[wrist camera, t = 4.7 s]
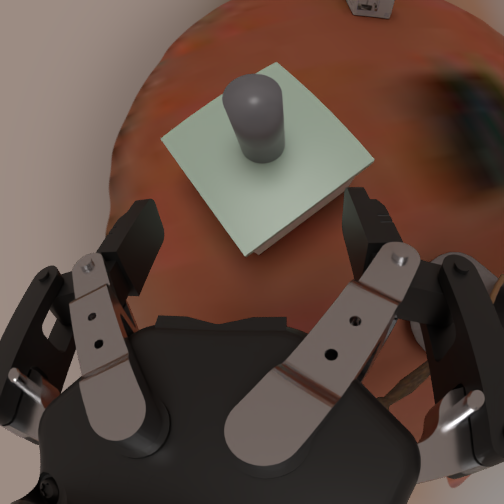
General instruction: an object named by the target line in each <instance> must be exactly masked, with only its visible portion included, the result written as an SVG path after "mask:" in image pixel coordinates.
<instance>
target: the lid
mask: <svg viewBox="0 0 504 504" xmlns="http://www.w3.org/2000/svg"><path fill="white" fill-rule="evenodd" d="M161 140H162V141H163V143H164V144H165V146H166V147H167V148H168V150H169V151H170V153H171V154H172V156H173V157H174V158H175V160H176V161H177V163H178V164H179V165H180V167H181V168H182V170H183V171H184V172H185V174H186V175H187V177H188V178H189V179H190V181H191V182H192V184H193V185H194V186H195V188H196V189H197V191H198V192H199V193H200V195H201V196H202V198H203V199H204V200H205V202H206V203H207V205H208V206H209V207H210V209H211V210H212V211H213V213H214V214H215V216H216V217H217V218H218V220H219V221H220V223H221V224H222V225H223V227H224V228H225V230H226V231H227V232H228V234H229V235H230V236H231V238H232V239H233V241H234V242H235V243H236V245H237V246H238V248H239V249H240V250H241V252H242V253H243V254H244V256H245V257H248V256H249V255H250V254H252V253H253V252H254V251H256V250H257V249H258V248H260V247H261V246H262V245H264V244H265V243H266V242H268V241H269V240H270V239H272V238H273V237H274V236H276V235H277V234H279V233H280V232H281V231H283V230H284V229H285V228H287V227H288V226H289V225H291V224H292V223H293V222H295V221H296V220H297V219H299V218H300V217H301V216H303V215H304V214H305V213H307V212H308V211H309V210H311V209H312V208H313V207H315V206H316V205H318V204H319V203H320V202H322V201H323V200H324V199H326V198H327V197H328V196H330V195H331V194H332V193H334V192H335V191H336V190H338V189H339V188H340V187H342V186H343V185H344V184H346V183H347V182H348V181H350V180H351V179H352V178H354V177H355V176H357V175H358V174H359V173H361V172H362V171H363V170H365V169H366V168H367V167H369V166H370V165H371V164H372V163H373V162H374V158H373V157H372V156H371V155H370V154H369V153H368V151H367V150H366V149H365V148H364V147H363V146H362V145H361V143H360V142H359V141H358V140H357V139H356V138H355V137H354V136H353V135H352V133H351V132H350V131H349V130H348V129H347V128H346V127H345V126H344V125H343V124H342V123H341V122H340V121H339V120H338V119H337V118H336V117H335V116H334V115H333V114H332V112H331V111H330V110H329V109H328V108H327V107H326V106H325V105H323V104H322V103H321V102H320V101H319V100H318V99H317V98H316V97H315V96H314V95H313V94H312V93H311V92H310V91H309V90H308V89H307V88H306V87H305V86H303V85H302V84H301V83H300V82H299V81H298V80H297V79H296V78H295V77H293V76H292V75H291V74H290V73H289V72H288V71H287V70H285V69H284V68H283V67H282V66H281V65H279V64H278V63H277V62H275V63H274V64H272V65H270V66H268V67H266V68H265V69H263V70H261V71H259V72H258V73H256V74H247V75H243V76H241V77H238V78H236V79H235V80H233V81H232V82H231V83H229V85H228V86H227V87H226V88H225V90H224V92H223V94H222V95H220V96H219V97H217V98H216V99H214V100H213V101H211V102H210V103H208V104H207V105H206V106H204V107H203V108H201V109H200V110H198V111H197V112H196V113H194V114H193V115H191V116H190V117H189V118H187V119H186V120H184V121H183V122H182V123H180V124H179V125H178V126H176V127H175V128H174V129H172V130H171V131H170V132H169V133H167V134H166V135H165V136H163V137H162V138H161Z"/></svg>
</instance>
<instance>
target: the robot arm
mask: <svg viewBox="0 0 504 504" xmlns="http://www.w3.org/2000/svg"><path fill="white" fill-rule="evenodd" d="M342 230H343V236H344V240H345V243H346V247H347V251H348V255H349V259H350V263H351V267H352V271H353V275H354V279H355V280H352V281H350V282H349V284H348V285H347V286H346V288H345V289H344V290H343V291H342V293H341V294H340V295H339V297H338V298H337V299H336V301H335V302H334V303H333V304H332V306H331V307H330V308H329V309H328V311H327V312H326V313H325V314H324V316H323V317H322V318H321V319H320V321H319V322H318V323H317V324H316V325H315V327H314V328H313V329H312V330H311V331H310V333H309V334H307V333H305V332H303V331H301V330H297V329H294V328H290V327H287V321H286V317H252V318H248V319H243V320H238V321H233V322H228V323H223V324H213V323H209V322H205V321H201V320H198V319H194V318H190V317H184V316H159V315H158V318H157V321H156V324H155V325H153V326H149V327H146V328H143V329H141V330H139V329H138V326H137V324H136V321H135V319H134V316H133V314H132V311H131V309H130V306H129V304H128V302H127V300H126V299H127V297H128V296H139V295H140V292H141V290H142V288H143V285H144V283H145V281H146V278H147V276H148V274H149V272H150V269H151V267H152V265H153V263H154V260H155V258H156V256H157V254H158V252H159V249H160V247H161V245H162V243H163V240H164V229H163V225H162V222H161V219H160V216H159V213H158V210H157V207H156V204H155V202H154V200H153V199H145V200H137V201H135V202H134V203H133V205H132V206H131V208H130V209H129V210H128V212H127V213H125V214H124V215H123V216H122V217H121V218H119V219H118V220H117V222H116V223H115V225H114V226H113V228H112V229H111V231H110V232H109V235H107V237H106V238H105V240H104V241H103V243H102V244H101V246H100V247H99V249H98V250H97V252H96V253H90V254H87V255H85V256H83V257H82V258H81V259H79V260H78V261H77V262H76V264H75V265H74V267H73V269H72V271H71V272H68V273H64V274H60V272H59V271H58V269H57V267H55V266H48V267H46V268H44V269H42V270H41V271H40V272H39V273H38V274H37V275H36V276H35V278H34V279H33V281H32V282H31V284H30V286H29V287H28V289H27V291H26V292H25V294H24V296H23V298H22V300H21V301H20V303H19V305H18V307H17V308H16V310H15V312H14V314H13V316H12V318H11V320H10V322H9V324H8V326H7V328H6V330H5V332H4V334H3V336H2V338H1V340H0V426H2V427H4V428H5V429H7V430H9V431H11V432H12V433H14V434H16V435H17V436H19V437H22V438H25V439H26V440H28V441H30V442H32V443H34V444H37V445H39V447H40V463H41V466H40V477H39V480H38V483H37V485H36V486H35V487H34V489H33V490H32V491H31V492H29V493H28V494H27V495H26V496H24V497H23V498H21V499H19V500H16V501H14V502H12V503H11V504H407V502H408V500H409V497H410V495H411V493H412V491H413V489H414V487H415V485H416V484H418V483H423V482H427V481H431V480H435V479H439V478H443V477H449V478H452V479H457V478H461V477H464V476H467V475H470V474H473V473H476V472H478V471H481V470H484V469H487V468H489V467H492V466H494V465H497V464H499V463H502V462H504V330H503V328H502V325H501V322H500V320H499V317H498V315H497V312H496V310H495V307H494V305H493V303H492V300H491V298H490V296H489V294H488V292H487V289H486V287H485V285H484V283H483V281H482V279H481V277H480V275H479V273H478V271H477V269H476V267H475V265H474V264H473V263H472V262H471V261H470V260H468V259H467V258H465V257H463V256H460V255H455V254H452V255H448V256H446V257H445V258H444V260H443V262H442V265H440V264H435V263H431V262H426V261H423V260H420V256H419V254H418V252H417V251H416V250H415V249H414V248H413V247H411V246H410V245H408V244H405V243H403V241H402V239H401V237H400V235H399V233H398V231H397V229H396V227H395V225H394V223H393V222H392V219H391V217H390V216H389V213H388V211H387V209H386V207H385V206H384V205H383V204H382V203H380V202H379V201H378V200H377V199H369V197H368V195H367V193H366V191H365V189H364V188H363V187H346V188H345V191H344V204H343V217H342ZM49 309H50V311H51V312H52V313H53V315H54V316H55V317H56V318H57V320H56V322H55V324H54V326H53V329H52V331H51V333H50V336H49V338H48V339H47V338H46V337H45V335H44V334H43V331H42V324H43V321H44V319H45V317H46V315H47V313H48V311H49ZM398 318H399V319H403V320H408V321H413V322H418V323H419V324H420V328H421V332H422V336H423V340H424V345H425V349H426V354H427V359H428V364H429V369H430V375H431V380H432V387H433V393H434V400H435V405H434V406H433V407H432V408H431V409H430V410H429V411H428V413H427V414H426V416H425V419H424V427H423V434H422V436H421V439H420V440H419V442H418V443H417V442H416V440H415V438H414V437H413V435H412V434H411V433H410V432H409V431H408V430H407V429H406V428H405V427H404V426H403V425H402V424H401V423H400V422H399V421H398V420H397V419H396V418H395V417H394V416H393V415H392V414H391V413H390V412H389V411H388V410H387V409H386V408H385V407H384V406H383V405H382V404H381V403H380V402H379V401H378V400H377V399H376V398H375V397H374V396H373V395H372V394H371V393H370V392H369V390H368V389H367V388H366V387H365V386H364V385H363V384H362V381H363V380H364V378H365V377H366V375H367V374H368V372H369V370H370V369H371V367H372V365H373V363H374V361H375V360H376V358H377V356H378V354H379V352H380V351H381V349H382V347H383V346H384V344H385V342H386V340H387V339H388V337H389V335H390V333H391V331H392V329H393V328H394V326H395V324H396V322H397V320H398ZM75 350H77V355H78V360H79V364H80V369H81V373H82V376H81V377H80V378H79V379H78V380H77V381H75V382H74V383H73V384H72V385H71V386H69V387H68V388H67V389H66V390H65V391H64V392H62V393H61V391H62V388H63V384H64V382H65V379H66V376H67V372H68V370H69V367H70V364H71V361H72V358H73V355H74V353H75Z"/></svg>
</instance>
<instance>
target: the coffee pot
mask: <svg viewBox="0 0 504 504" xmlns="http://www.w3.org/2000/svg"><path fill="white" fill-rule="evenodd" d="M452 254H455V255H460V256H463V257H465V258H467V259H468V260H470V261H471V262H472V263H473V264H474V265H475V267H476V269H477V271H478V273H479V275H480V277H481V279H482V281H483V283H484V285H485V287H486V289H487V292H488V294H489V296H490V298H491V300H492V303H493V305H494V307H495V310H496V312H497V315H498V317H499V320H500V322H501V325H502V328H503V330H504V274H501V275H500V277H499V279H498V278H497V277H496V276H495V275H494V274H492V273H491V272H490V271H489V270H487V269H486V268H485V267H484V266H482V265H481V264H480V263H479V262H477V261H476V260H475V259H474V258H472V257H471V256H469V255H466V254H463V253H460V252H449V253H446V254H443V255H440V256H438V257H437V258H435V259H434V260H433V261H431V263H435V264H440V265H442V262H443V260H444V258H445V257H446V256H448V255H452ZM410 324H411V329H412V332H413V334H414V336H415V339H416V341H417V342H418V343H419V344H420V346H421V347H422V348H423V349H424V350H425V351H426V349H425V345H424V340H423V336H422V332H421V328H420V324H419V323H418V322H413V321H410ZM429 375H430V369H429V364H428V360H427V361H426V362H425V363H423V364H422V365H421V366H419V367H418V368H417V369H415V370H414V371H413V372H411V373H410V374H409V375H407V376H406V377H404V378H403V379H402V380H400V381H399V383H398V384H397V385H396V386H395V387H394V388H393V389H392V390H391V391H390V392H389V393H388V394H387V395H386V396H385V397H378V398H376V399H377V400H378V401H379V402H380V403H381V404H382V405H383V406H384V407H385V408H386V409H387V410H388V409H389V406H390V405H392V404H393V403H395V402H397V401H398V400H400V399H402V398H403V397H405V396H407V395H409V394H410V393H412V392H413V391H414V390H415V389H416V388H417V387H418V386H419V385H420V384H421V383H422V382H423V381H424V380H425V379H426V378H427V377H428V376H429Z"/></svg>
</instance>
